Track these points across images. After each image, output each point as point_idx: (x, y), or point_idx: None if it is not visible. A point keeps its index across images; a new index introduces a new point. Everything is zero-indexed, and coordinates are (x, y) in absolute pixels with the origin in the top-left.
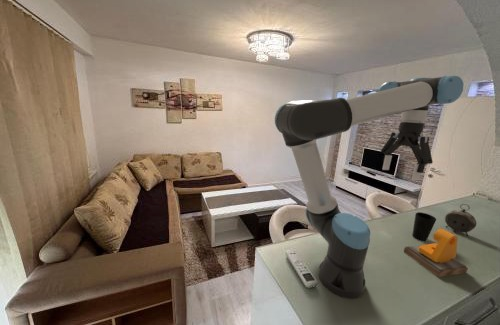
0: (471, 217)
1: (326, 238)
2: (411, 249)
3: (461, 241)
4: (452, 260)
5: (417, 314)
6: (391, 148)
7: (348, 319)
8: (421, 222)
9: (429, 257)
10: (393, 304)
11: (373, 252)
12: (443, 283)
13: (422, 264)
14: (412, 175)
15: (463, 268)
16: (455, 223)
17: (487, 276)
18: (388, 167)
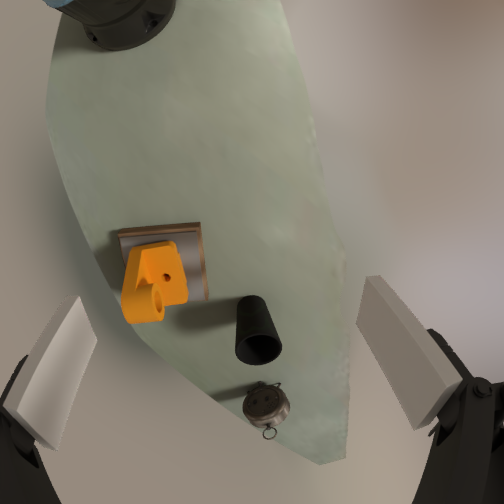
0: (253, 422)
1: None
2: (184, 233)
3: (232, 371)
4: None
5: (52, 115)
6: (456, 495)
7: None
8: (248, 326)
9: (146, 245)
10: (69, 85)
11: (202, 135)
12: (107, 225)
13: (151, 227)
14: (62, 319)
15: None
16: (265, 396)
17: None
18: (366, 331)
